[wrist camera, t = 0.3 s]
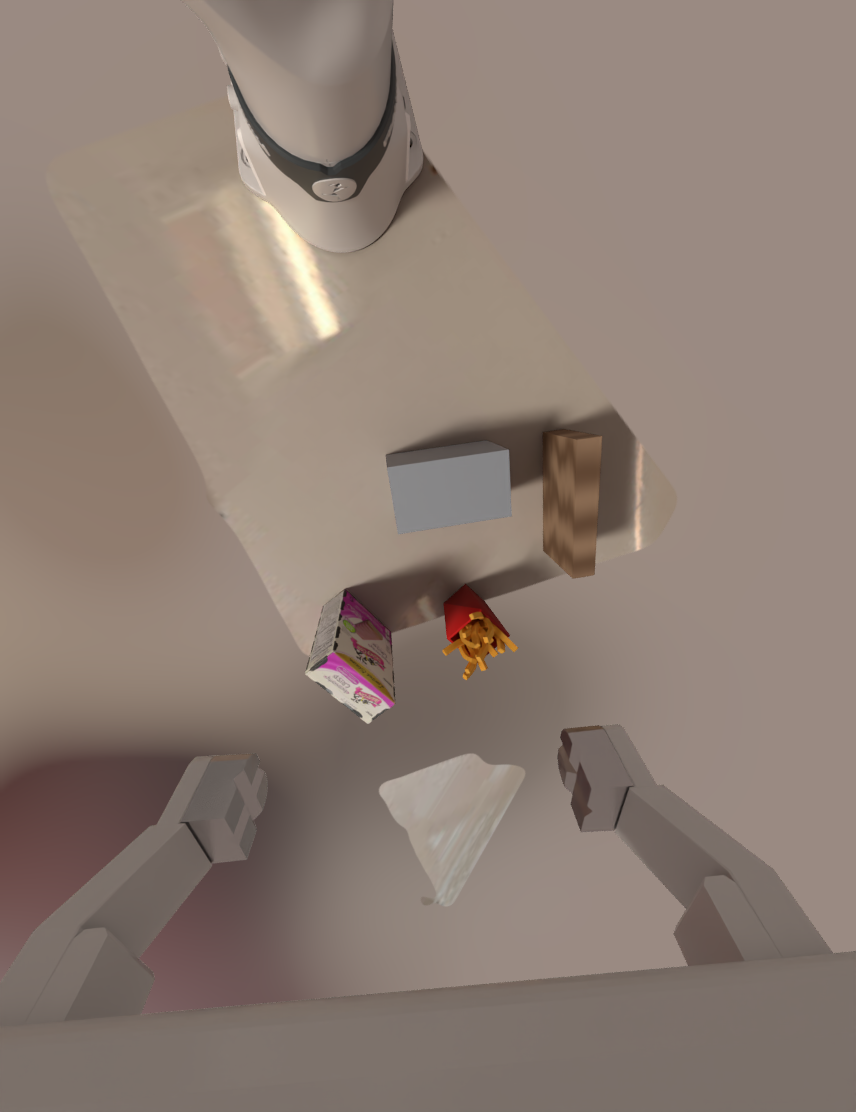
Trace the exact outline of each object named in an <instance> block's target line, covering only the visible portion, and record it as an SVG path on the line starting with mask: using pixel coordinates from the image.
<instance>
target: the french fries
mask: <svg viewBox="0 0 856 1112" xmlns="http://www.w3.org/2000/svg"><path fill="white" fill-rule="evenodd" d="M444 613H445V622H446V634H447V639H448V640H449V641H450V642H451V643H452V644H450V645H449V646H447V647H446V648H445V649H443V653H444V654H445V655H448V654H449V653H451V652H452V651H453V650H455V649H456V648H459V650H460V653H461V655H462V656H463V658H464V659H466V660H467V661H469V663H468V665H467V666H466V668H465V671H466V672H465V673H464V674H463V678H464V679H466V680H467V679H468V678H469V677H470V676H471V675H472V673H473V672H474V670H475V669H476V666H477V663H478V665H479V667H480V669H481V671H483V670H486V669H487V668H488V667H487V665H486V663H485V661H484V658H485V656H486V655H487V654H489V653H490V654H491V655H492V656H493V657H495V656H496V655H497V654H498V653H497V651H496V650H495V648H496V647H497V650H498V651H499V652H500V653H503V652H505V644H506V645H507V646H508V647H509V648H510V649H511V650H512V651H513V652H515V651H516V650H517V649H518V647H516V645H515V644H514V643H513V642H511V640H510V639H509V638H508V637H509V636H510V635H509V633H508V632H507V631H506V630H505V628H504V627H503V625H502V624H501V623H500V621H499V620H498V619H497V617H496V616H495V615H494V613H493V612H492V611H491V609H490V608H489V607H488V605H487V604H486V603H485V601H484V600H483V599H482V598H480V597H479V596H478V595H477V594H476V593H475V592H474V591H473V590H472V589H471V588H470V587H469V586H467V585H466V584H465V585H464V586H462V587H461V588H460V589H459V590H458V591H457V592H456V593H455V594H453V595H452V596H451V597H450V598H449V599H448V600H447V601H446V602H445V603H444ZM504 643H505V644H504Z"/></svg>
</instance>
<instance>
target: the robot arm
mask: <svg viewBox="0 0 856 1112" xmlns="http://www.w3.org/2000/svg"><path fill="white" fill-rule="evenodd" d="M181 1H182V2H183V3H184V4H185V5H186V6H188V8H189V9H190V10H191V11H192V12H193V13H194V14H195V15H196V16H197V17H198V18H199V19H200V20H201V21H202V22H203V24H204V25H205V26H206V27H207V29H208V30H209V32H210V33H211V35H212V37H213V39H214V40H215V42H216V44H217V46H218V47H219V51H220V54H221V58H222V60H223V62H224V63H225V64H226V65H227V66H228V71H229V75H230V78H231V86H230V85H228V86H227V93H228V99H229V103H230V106H231V108H232V109H233V110H234V121H235V132H236V144H237V155H238V166H239V173H240V176H241V179H242V181H243V183H244V185H245V186H246V187H247V188H248V189H249V190H250V191H251V192H252V193H253V194H255V195H256V196H258V197H259V198H261V199H263V200H264V201H266V202H268V203H270V204H271V205H272V206H273V207H274V208H275V209H276V211H277V212H278V213H279V214H280V215H281V217H282V218H283V219H284V221H285V222H286V223H287V224H288V225H289V227H290V228H291V229H292V230H293V231H294V232H295V233H297V234H298V235H299V236H300V237H301V238H303V239H304V240H305V241H307V242H308V243H310V244H312V245H314V246H316V247H318V248H321V249H323V250H327V251H331V252H342V253H343V252H352V251H356V250H359V249H362V248H364V247H366V246H368V245H370V244H371V243H373V242H374V241H375V240H376V239H378V238H379V237H380V236H381V235H382V234H383V233H384V231H385V230H386V229H387V227H388V226H389V224H390V223H391V221H392V219H393V217H394V215H395V213H396V210H397V208H398V205H399V202H400V200H401V197H402V195H403V193H404V191H405V190H406V189H407V188H408V187H409V185H410V184H411V183H412V182H413V181H414V180H415V179H416V178H417V177H418V175H419V174H420V172H421V170H422V167H423V151H422V147H421V143H420V139H419V135H418V131H417V127H416V123H415V119H414V115H413V111H412V106H411V103H410V98H409V95H408V90H407V86H406V82H405V78H404V74H403V70H402V66H401V62H400V58H399V54H398V50H397V46H396V42H395V37H394V33H393V30H392V20H393V0H181ZM410 143H411V144H412V147H411V148H410ZM560 738H561V741H562V744H563V745H562V746H561V747H560V748H559V749H558V755H557V759H558V767H559V772H560V775H561V779H562V782H563V784H564V786H565V788H566V789H568V790H569V791H570V792H571V793H572V800H571V807H572V809H573V812H574V815H575V818H576V820H577V823H578V826H579V828H580V831H581V832H593V831H612V830H615V833H616V834H617V835H618V836H619V837H620V839H621V840H622V841H623V842H624V843H625V844H626V845H627V846H628V847H629V848H630V849H631V850H632V851H633V852H634V854H635V855H636V856H637V857H638V858H639V859H640V860H641V861H642V862H643V863H644V864H645V865H646V866H647V868H648V869H649V870H650V871H651V872H652V873H653V874H654V875H655V876H656V877H657V878H658V879H659V880H660V881H661V882H662V883H663V885H665V887H666V888H667V889H668V890H669V891H670V892H671V893H672V894H673V895H674V896H675V897H676V899H677V900H678V901H679V902H680V903H681V904H682V905H683V906H684V907H685V908H686V910H685V912H684V914H683V915H682V917H681V919H680V921H679V922H678V924H677V926H676V928H675V931H674V936H675V938H676V940H677V942H678V945H679V947H680V948H681V951H682V953H683V956H684V958H685V960H686V962H687V964H688V966H683V967H671V968H661V969H649V970H637V971H628V972H627V971H626V972H615V973H604V974H592V975H581V976H570V977H558V978H548V979H537V980H524V981H513V982H502V983H490V984H479V985H468V986H456V987H445V988H434V989H422V990H411V991H400V992H388V993H377V994H366V995H354V996H343V997H332V998H320V999H309V1000H298V1001H286V1002H276V1003H263V1004H252V1005H241V1006H229V1007H218V1008H207V1009H195V1010H184V1011H173V1012H162V1013H151V1014H141V1013H142V1010H143V1008H144V1005H145V1003H146V1000H147V998H148V995H149V993H150V990H151V988H152V985H153V982H154V980H155V978H154V974H153V971H152V970H151V969H150V968H148V967H147V966H146V965H145V964H144V963H143V962H142V961H141V960H140V959H139V958H140V956H141V955H142V954H143V953H144V951H145V950H146V949H147V947H148V946H149V945H150V944H151V942H152V941H153V940H154V939H155V937H156V936H157V935H158V934H159V932H160V931H161V930H162V929H163V927H164V926H165V925H166V923H167V922H168V921H169V920H170V918H171V917H172V916H173V915H174V913H175V912H176V910H178V908H179V907H180V906H181V905H182V903H183V902H184V900H185V899H186V898H187V897H188V896H189V894H190V893H191V892H192V891H193V889H194V888H195V887H196V886H197V884H198V883H199V882H200V880H201V879H202V878H203V877H204V875H205V874H206V873H207V872H208V870H209V869H210V868H211V867H212V864H211V863H220V862H229V861H237V860H247V858H248V855H249V851H250V848H251V845H252V842H253V839H254V836H255V833H256V826H255V823H254V819H255V818H256V817H257V816H258V815H259V814H260V813H261V811H262V810H263V807H264V804H265V801H266V795H267V787H268V785H267V777H266V774H265V772H264V771H263V770H261V769H260V768H258V765H259V762H260V760H259V758H258V756H257V754H256V753H252V754H236V755H220V756H217V755H216V756H204V757H195V759H193V761H192V762H191V763H190V764H189V766H188V767H187V769H186V771H185V773H184V775H183V777H182V778H181V780H180V782H179V784H178V786H177V788H176V790H175V792H174V793H173V795H172V797H171V799H170V801H169V803H168V805H167V807H166V808H165V810H164V812H163V814H162V816H161V818H160V819H159V821H158V823H157V825H153V826H150V827H149V828H147V829H146V830H145V831H144V832H143V833H142V834H141V835H140V836H139V837H137V838H136V839H135V840H134V841H133V842H132V843H131V844H130V845H129V846H127V847H126V848H125V849H124V850H123V851H122V852H121V853H120V854H118V855H117V856H116V857H115V858H114V859H113V860H112V861H111V862H110V863H109V864H107V865H106V866H105V867H104V868H103V869H102V870H101V871H100V872H99V873H97V874H96V875H95V876H94V877H93V878H92V879H91V880H90V881H88V883H86V884H85V885H84V886H83V887H82V888H81V889H80V890H79V891H77V892H76V893H75V894H74V895H73V896H72V897H71V898H70V899H68V900H67V901H66V902H65V903H64V904H63V905H62V906H61V907H60V908H58V909H57V910H56V911H55V912H54V913H53V914H52V915H51V916H50V917H48V919H46V920H45V921H44V922H43V923H42V924H41V925H40V926H39V927H38V928H36V929H35V930H34V931H33V933H32V934H31V936H30V937H29V939H28V940H27V942H26V943H25V945H24V947H23V948H22V950H21V951H20V953H19V954H18V956H17V957H16V959H15V960H14V962H13V963H12V965H11V967H10V968H9V970H8V971H7V973H6V975H5V976H4V977H3V979H2V980H1V982H0V1112H856V951H853V952H842V953H833V952H832V951H831V950H830V948H829V947H828V945H827V944H826V942H825V941H824V940H823V938H822V937H821V935H820V934H819V932H818V931H817V930H816V928H815V927H814V925H813V924H812V923H811V921H810V920H809V918H808V917H807V916H806V914H805V913H804V911H803V910H802V908H801V907H800V906H799V904H798V903H797V901H796V900H795V899H794V897H793V896H792V894H791V893H790V892H789V890H788V889H787V887H786V886H785V884H784V883H783V882H782V880H781V879H780V877H779V876H778V875H777V873H776V872H775V871H774V869H773V868H771V867H770V866H769V865H767V864H766V863H765V862H764V861H762V860H761V859H760V858H758V857H757V856H756V855H754V854H753V853H752V852H750V851H749V850H748V849H746V848H745V847H744V846H742V845H741V844H740V843H739V842H737V841H736V840H735V839H733V838H732V837H731V836H729V835H728V834H727V833H726V832H724V831H723V830H722V829H720V828H719V827H718V826H716V825H715V824H714V823H712V822H711V821H710V820H709V819H707V818H706V817H705V816H703V815H702V814H701V813H699V812H698V811H697V810H695V809H694V808H693V807H691V806H690V805H689V804H688V803H686V802H685V801H684V800H682V799H681V798H680V797H678V796H677V795H676V794H674V793H673V792H671V790H669V789H668V788H667V787H665V786H664V785H657V784H656V782H655V781H654V779H653V777H652V775H651V774H650V772H649V770H648V769H647V767H646V765H645V763H644V762H643V760H642V758H641V757H640V755H639V753H638V752H637V750H636V748H635V746H634V745H633V743H632V741H631V740H630V738H629V736H628V734H627V733H626V731H625V729H624V728H623V727H622V726H621V725H618V724H617V725H606V726H599V725H598V726H588V727H578V728H567V729H563V730H562V731H561V736H560Z"/></svg>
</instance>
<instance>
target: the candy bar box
mask: <svg viewBox="0 0 856 1112" xmlns="http://www.w3.org/2000/svg"><path fill="white" fill-rule="evenodd" d="M305 674H306V675H307V676H308V677H310V678H311V679H312V680H313V681H315V682H316V683H317V684H319V685H320V686H321V687H322V688H323V689H325V690H326V691H327V692H328V693H330V694H331V695H332V696H334V697H335V698H336V699H337V700H339V701H340V702H341V703H342V704H343V705H345V706H346V707H347V708H349V709H350V710H351V711H352V712H354V713H355V714H356V715H357V716H358V717H360V718H361V719H362V720H364V721H365V722H366V723H368V724H369V723H370V722H372V720H374V719H375V718H377V717H378V716H379V715H381V714H382V713H383V712H384V711H385V710H388V709H389V708H391V707H392V706H393V705H394V704H395V692H394V691H395V689H394V673H393V656H392V640H391V632H390V631H389V630H388V629H387V628H386V627H385V626H384V625H383V624H382V623H381V622H379V621H378V620H377V619H376V618H375V617H374V616H373V615H372V614H371V613H370V612H369V611H368V610H367V609H366V608H364V607H363V606H362V605H361V604H360V603H359V602H358V601H357V600H356V599H355V598H354V597H353V596H352V595H351V594H350V593H349V592H347V591H346V590H345V589H344V590H343V591H342V592H340V593H339V594H338V595H337V596H336V597H335V598H333V599H332V600H331V601H329V602H328V603H327V604H325V605H324V606H323V609H322V612H321V616H320V620H319V624H318V628H317V631H316V635H315V639H314V642H313V646H312V650H311V654H310V657H309V661H308V665H307V668H306V672H305Z"/></svg>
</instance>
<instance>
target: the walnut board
mask: <svg viewBox="0 0 856 1112" xmlns="http://www.w3.org/2000/svg"><path fill="white" fill-rule="evenodd" d="M601 449H602V436H599V435H593V434H588V433H582V432H577V431H571V430H566V429H561V430H554V431H548V432H543V551H544V552H545V553H546V554H547V555H548V556H549V557H550V558H551V559H553V560H554V561H555V562H556V563H557V564H558V565H559V566H560V567H561V568H562V569H563V570H564V571H565V572H566V573H567V574H568V575H570V576H571V577H572V578H580V577H585V576H591V575H594V574H595V556H596V538H597V520H598V502H599V484H600V467H601Z"/></svg>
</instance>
